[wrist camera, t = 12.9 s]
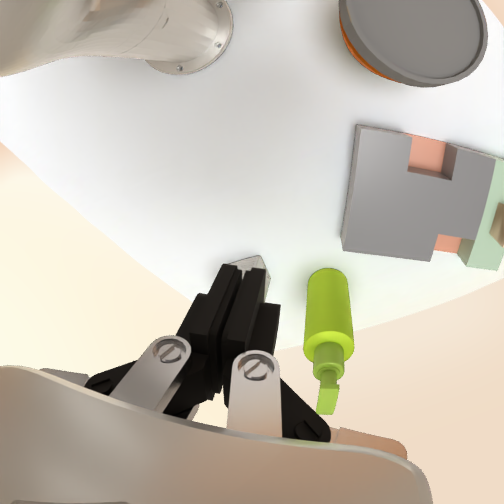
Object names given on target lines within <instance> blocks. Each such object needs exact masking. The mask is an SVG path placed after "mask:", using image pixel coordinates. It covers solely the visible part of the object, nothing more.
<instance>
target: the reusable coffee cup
mask: <svg viewBox="0 0 504 504" xmlns="http://www.w3.org/2000/svg"><path fill="white" fill-rule="evenodd" d="M339 17H340V26H341V31H342V35H343V38H344V41H345V43H346V45H347V47H348V49H349V51H350V52H351V53H352V55H353V56H354V58H355V59H356V60H357V61H358V62H359V63H360V64H361V65H363V66H364V67H365V68H367V69H368V70H370V71H371V72H373V73H375V74H377V75H379V76H381V77H384V78H386V79H389V80H392V81H395V82H398V83H403V84H406V85H410V86H416V87H437V86H441V85H445V84H449V83H453V82H456V81H459V80H461V79H463V78H465V77H467V76H469V75H470V74H471V73H472V72H473V71H474V70H475V69H476V68H477V67H478V66H479V64H480V62H481V61H482V59H483V57H484V54H485V51H486V48H487V40H488V32H487V23H486V19H485V16H484V12H483V9H482V7H481V5H480V3H479V1H478V0H339Z"/></svg>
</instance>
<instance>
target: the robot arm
mask: <svg viewBox="0 0 504 504" xmlns="http://www.w3.org/2000/svg"><path fill="white" fill-rule="evenodd" d="M220 5H223V6H222V7H221V8H220ZM232 30H233V17H232V14H231V10H230V8H229V6H228V4H227V3H226V1H225V0H0V77H3V76H8V75H12V74H16V73H20V72H24V71H27V70H30V69H33V68H36V67H39V66H42V65H44V64H47V63H50V62H53V61H56V60H60V59H64V58H69V57H78V56H103V57H120V58H134V59H145V61H146V62H147V63H148V64H149V65H150V66H152V67H153V68H154V69H156V70H158V71H160V72H164V73H167V74H175V75H180V74H189V73H194V72H196V71H199V70H202V69H203V68H205V67H207V66H209V65H210V64H212V63H213V62H214V61H215V60H216V59H218V57H219V56H220V55H221V54H222V53H223V52H224V50H225V48H226V47H227V45H228V43H229V41H230V38H231V35H232ZM219 44H221V47H220V48H218V45H219ZM181 67H183V70H181ZM265 280H266V269H262V268H254V267H252V268H251V271H248V270H246V271H245V274H244V276H243V279H242V270H240V269H238V267H237V265H230V264H223V265H222V266H221V268H220V270H219V272H218V274H217V276H216V278H215V280H214V282H213V284H212V286H211V289H210V291H209V293H208V294H202V293H199V294H197V296H196V298H195V300H194V301H193V303H192V305H191V307H190V309H189V311H188V313H187V315H186V317H185V318H184V320H183V322H182V324H181V326H180V328H179V330H178V332H177V334H176V336H174V335H173V336H172V335H171V336H163V337H160V338H158V339H156V340H155V341H153V343H151V344H150V346H149V347H148V348H147V349H146V350H145V352H144V353H143V354H142V355H141V357H140V358H139V359H138V360H136V361H133V362H130V363H127V364H125V365H122V366H119V367H116V368H113V369H110V370H107V371H104V372H101V373H98V374H96V375H94V376H92V377H91V378H90V377H88V375H87V374H81V373H74V372H67V371H61V370H55V369H48V368H43V369H40V370H37V369H33V368H29V367H23V366H12V365H7V366H0V504H433V501H432V495H431V491H430V487H429V484H428V481H427V478H426V477H425V475H424V473H423V472H422V470H421V469H419V467H418V466H416V465H415V464H413V463H412V462H410V461H408V460H407V451H406V449H405V447H404V446H403V445H402V444H401V443H400V442H398V441H396V440H393V439H389V438H384V437H379V436H375V435H371V434H366V433H362V432H358V431H354V430H350V429H346V428H342V427H340V429H339V430H338V429H335V428H331V427H329V426H328V425H327V423H326V422H325V421H324V420H323V419H322V418H321V417H320V416H319V415H318V414H317V413H316V412H315V411H314V410H313V409H312V408H311V407H310V406H309V405H307V404H306V403H305V402H304V401H303V400H302V399H301V398H300V397H299V396H298V395H297V394H296V393H295V392H294V391H293V390H292V389H291V388H290V387H289V386H288V385H287V384H286V383H285V382H284V381H283V380H282V379H281V378H280V368H279V364H278V361H277V360H276V359H275V357H273V354H274V349H275V344H276V338H277V331H278V324H279V316H280V307H281V305H280V304H272V303H264V294H265ZM222 386H223V393H224V404H225V405H226V407H227V408H228V419H227V429H226V428H221V427H216V426H212V425H207V424H203V423H198V422H194V421H192V420H193V418H194V416H195V414H196V413H197V411H198V408H199V404H200V403H202V402H204V401H206V400H213V397H214V395H215V393H219V394H220V392H221V389H222Z"/></svg>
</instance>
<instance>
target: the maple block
mask: <svg viewBox="0 0 504 504" xmlns="http://www.w3.org/2000/svg"><path fill="white" fill-rule="evenodd" d="M489 234H490V235H491V236H492V237H493V238H494V239H495V240H496V241H497V242H498V243H499V244H500V245H501V246H502V248H504V204H503V203H499V202H498V205H497V209H496V213H495V216H494V219H493V223H492V226H491V229H490V232H489Z"/></svg>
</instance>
